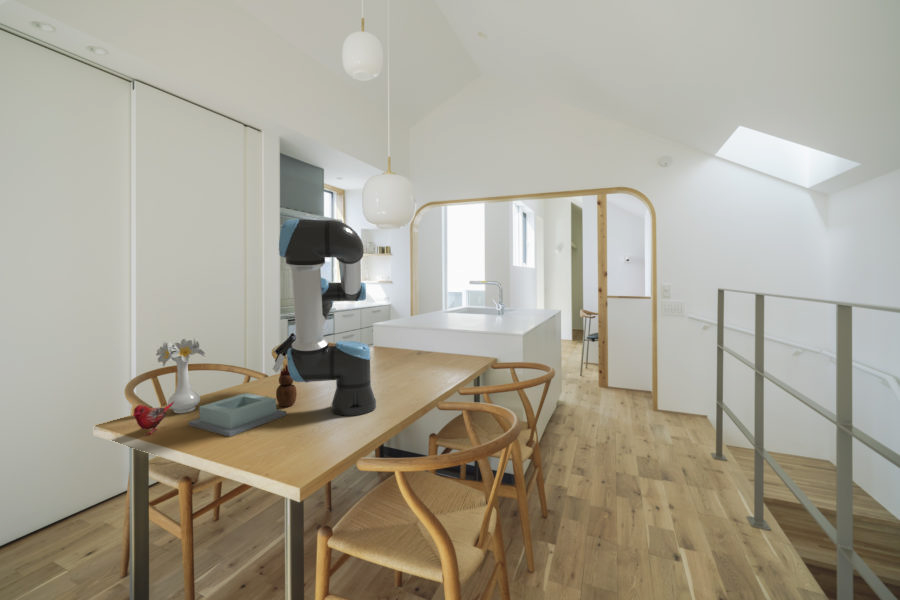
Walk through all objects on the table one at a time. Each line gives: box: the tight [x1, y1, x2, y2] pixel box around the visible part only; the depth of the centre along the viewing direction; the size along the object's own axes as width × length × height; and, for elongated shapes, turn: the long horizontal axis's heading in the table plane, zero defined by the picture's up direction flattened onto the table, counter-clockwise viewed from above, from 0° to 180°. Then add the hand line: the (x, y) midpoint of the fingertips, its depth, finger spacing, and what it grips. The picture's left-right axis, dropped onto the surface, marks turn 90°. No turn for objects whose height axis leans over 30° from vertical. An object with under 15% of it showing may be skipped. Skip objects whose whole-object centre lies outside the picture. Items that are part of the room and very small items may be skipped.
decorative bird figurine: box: [132, 402, 174, 437], centre depth 118 cm, size 3×18×10 cm, turn 4°
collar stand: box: [188, 392, 287, 438], centre depth 127 cm, size 20×20×6 cm
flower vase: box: [155, 338, 206, 414], centre depth 135 cm, size 13×18×25 cm
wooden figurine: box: [275, 364, 298, 408], centre depth 141 cm, size 7×6×15 cm
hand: (291, 371), depth 145 cm, fingers open, 13 cm apart
